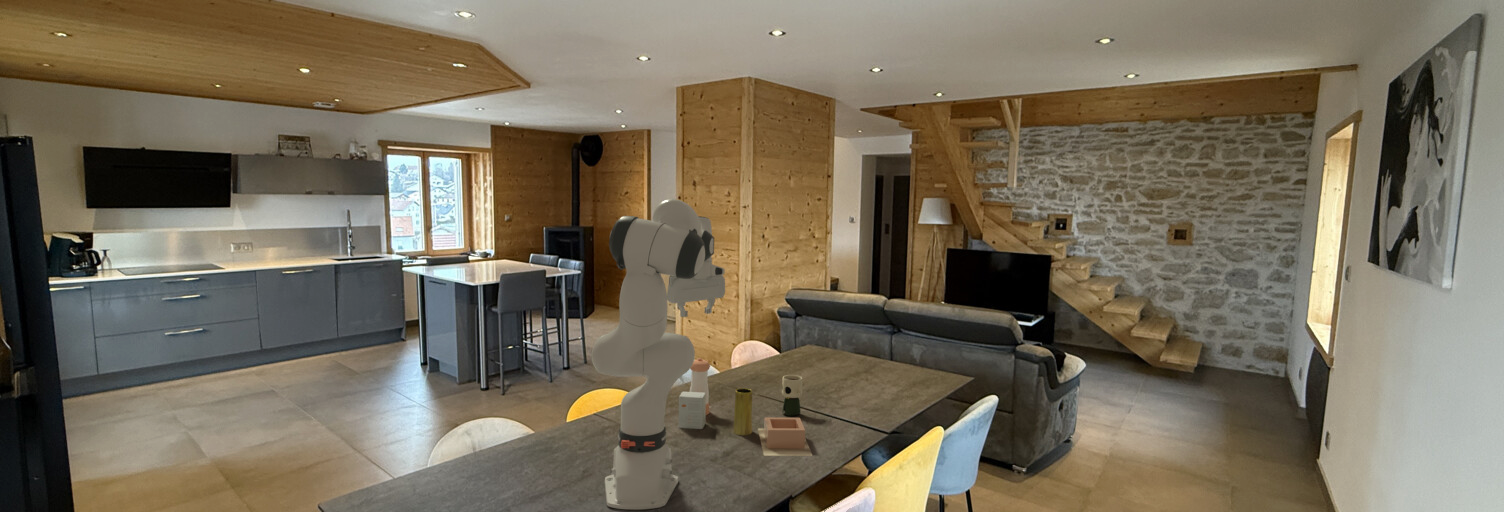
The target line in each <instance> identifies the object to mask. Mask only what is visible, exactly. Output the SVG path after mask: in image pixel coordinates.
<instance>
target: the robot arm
mask: <svg viewBox="0 0 1504 512" xmlns="http://www.w3.org/2000/svg"><path fill="white" fill-rule="evenodd" d="M608 247H609V251H610V254H611V256H612V258H613V260H615V262H616V266H617V268H618V269H619V270H624V269H626V274H625V276H624V278H623V281H622V284H621V289H620V293H619V303H618V304H619V306H618V307H619V308H618V309H619V323H618V325H617V326H616V327H615V328H614V329H612V330H611V331H610V332H607V333H605V334H603V335H600V336H599V337H598V338H597V340H595V343H593V346H592V350H591V362H592V365H593V367H594V368H595V370H596V371H597V373H598V374H603V375H607V376H613V377H619V378H620V377H622V378H623V377H627V378H628V377H631V378H632V377H645V378H646V380H645V382H644V383H643V384H641V385H640V386H637V387H635V388H633V389H632V390H630V391H629V392H627V393H626V394H625V395H624V396H623V398H622V400H621V402H620V428H619V430H618V437H617V439H618V445H617V446H616V447H615V448H614V449H613V466H612V467H613V468H610V475H607V476H605V477H604V490H605V499H606V500H605V501H606V505H607V506H608V507H609V508H613V509H617V510H631V511H632V510H633V511H634V510H651V509H657V508H658V509H659V508H662V507H665V506H666V505H667V503H668V501H669V500H670V498H671V496H672V494H673V492H674V490H675V488H677V486H678V484H679V477H678V476H677V475H674V474H672V473H673V471H672V461H673V459H672V449H671V448H670V447H669V446H668V445H667V443H666V442H667V428H666V426H665V414H666V405H667V399H668V395H669V393H670V390H671V389H672V387H673V386H674V384H675V383H676V382H677V381H678V380H679V379H680V378H681V377H682V376H684V375H685V374H687V373H688V372H689V370H691V369H690V368H691V366H692V364H693V362H694V360H695V359H696V356H695V355H696V354H695V353H696V351H695V350H696V349H695V347H694V345H693V342H692V340H691V339H690V338H689V337H688V336H686V335H683V334H677V333H672V332H666V330H667V327H668V325H667V324H668V303H671V304H676V306H677V308H678V310H679V312H680V313H679V314H680V315H679V316H680V317H681V318H687V317H688V316H689V315H688V310H686V308H685V306H686V303H690V302H699V301H707V305H706V307H704V313H705V314H706V315H708V314H709V315H710V314H712V313H713V312H712V311H713V310H712V309H713V307H714V306H715V303H716V300H717V299H721V298H722V299H723V298H724V296H725V295H726V279H725V277H724V275H725V273H726V272H725V271H726V270H725V268H724V267H721V266H718V265H715V264H713V258H712V256H713V255H714V253H715V237H714V236H713V231H712V221H711V218H709V217H705V216H698V214H697V212H696V210H694V208H693V207H692V206H691V205H690V204H688V203H687V202H684V201H683V200H681V199H675V198H670V199H669V198H668V199H665V200H663V201H662V202H660V203H659V204H657V206H656V207H655V209H654V211H653V214H652V220H649V219H644V218H639V216H634V215H632V216H631V215H623V216H621V217H620V218H618V220H616V222H615V223H614V224H613V226H612V229H611V231H610V234H609V240H608ZM662 275H666V276H668V285H667V288H666V285H665V282H664V279H663V277H662Z"/></svg>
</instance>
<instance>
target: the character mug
mask: <svg viewBox="0 0 1504 512" xmlns="http://www.w3.org/2000/svg"><path fill="white" fill-rule="evenodd" d="M803 380H804V378H803V377H802V376H801V375H796V374H787V375H783V376H782V383H781V384H782V388H781V395H782V396H783V397H784V398H783V404H782V414H784V415H785V416H796V415H800V414H801V404H800V403H801V401H800V399H799V398H801V397H802V396H803V384H804V383H803V382H804V381H803Z"/></svg>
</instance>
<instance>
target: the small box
mask: <svg viewBox="0 0 1504 512" xmlns="http://www.w3.org/2000/svg"><path fill="white" fill-rule="evenodd" d="M706 416H707V415H706V393H702V392H690V391H681V393H680V395H679V396H678V428H679V429H690V430H691V429H692V430H703V429H704V427H705V425H706Z"/></svg>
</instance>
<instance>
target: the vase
mask: <svg viewBox="0 0 1504 512" xmlns="http://www.w3.org/2000/svg"><path fill="white" fill-rule="evenodd" d="M734 396H735V397H734V399H735V401H734V415H733V417H734V419H733V434H735V435H738V436H749V435H751V434H752V433H753V423H752V421H753V420H752V418H753V417H752V414H753V413H752V412H753V390H752V389H751V388H744V387H741V388H737V389H735V395H734Z"/></svg>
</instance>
